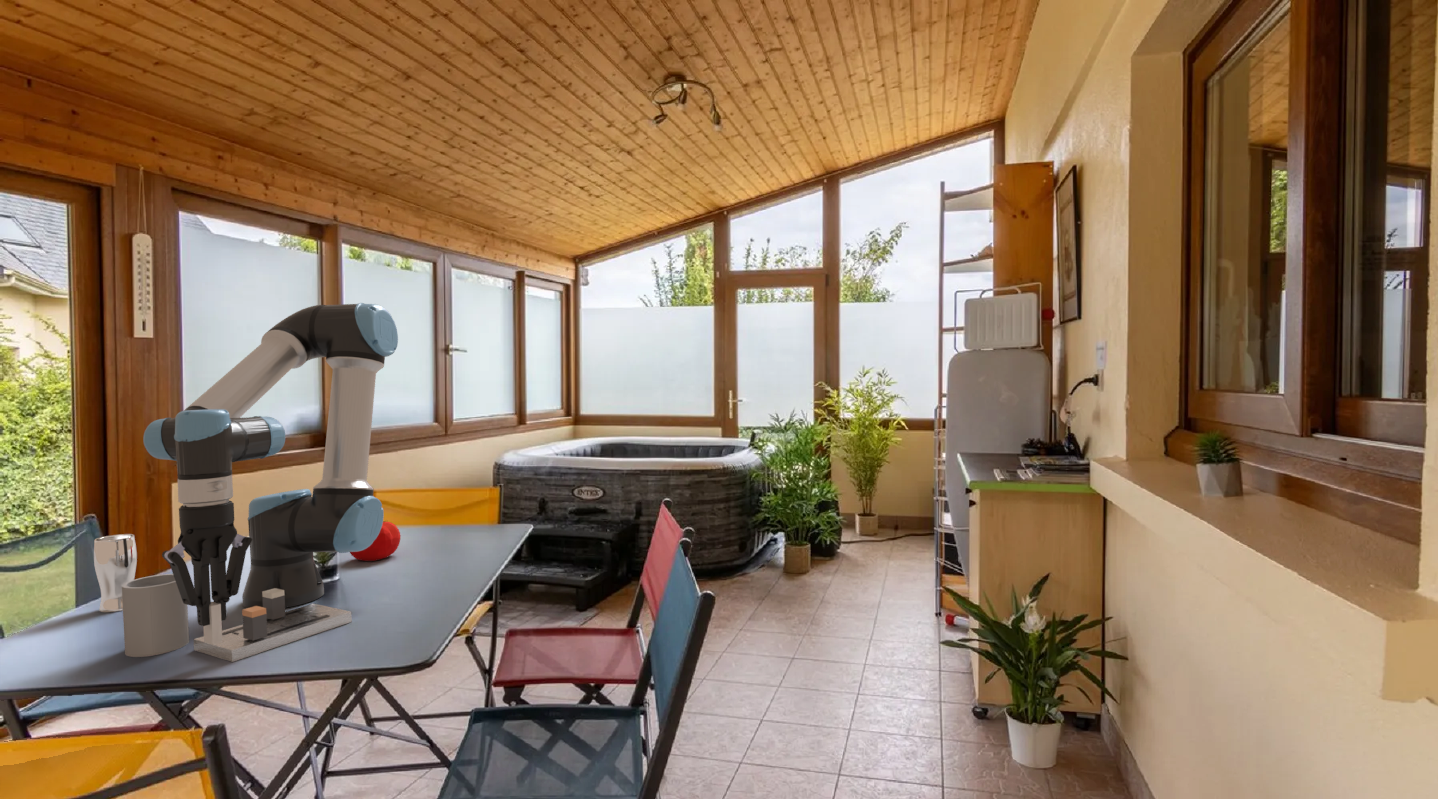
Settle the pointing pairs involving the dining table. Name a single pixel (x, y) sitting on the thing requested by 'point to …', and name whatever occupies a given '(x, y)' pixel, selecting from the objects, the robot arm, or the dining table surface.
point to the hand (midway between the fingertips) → (213, 642)
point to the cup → (153, 616)
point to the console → (276, 632)
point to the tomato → (381, 544)
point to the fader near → (254, 623)
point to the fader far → (274, 603)
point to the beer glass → (114, 568)
